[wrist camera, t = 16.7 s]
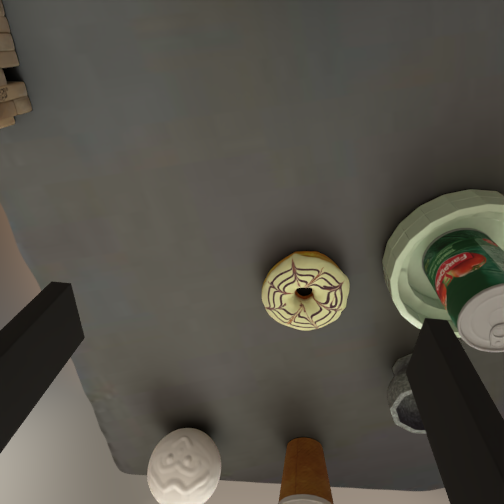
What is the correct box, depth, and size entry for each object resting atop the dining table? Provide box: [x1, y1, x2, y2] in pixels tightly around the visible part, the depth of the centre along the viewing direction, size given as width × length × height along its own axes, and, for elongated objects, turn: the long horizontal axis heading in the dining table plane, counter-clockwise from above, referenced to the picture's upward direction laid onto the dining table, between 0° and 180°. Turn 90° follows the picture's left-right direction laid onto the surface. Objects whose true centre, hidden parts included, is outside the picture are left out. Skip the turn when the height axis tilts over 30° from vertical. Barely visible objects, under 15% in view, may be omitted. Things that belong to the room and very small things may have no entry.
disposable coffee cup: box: [278, 437, 333, 504], centre depth 58 cm, size 10×10×12 cm
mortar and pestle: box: [387, 354, 426, 434], centre depth 47 cm, size 11×9×12 cm
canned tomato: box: [422, 228, 504, 352], centre depth 37 cm, size 8×8×11 cm
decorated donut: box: [262, 251, 350, 331], centre depth 45 cm, size 10×11×4 cm
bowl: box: [382, 189, 504, 338], centre depth 40 cm, size 17×17×5 cm
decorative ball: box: [147, 428, 221, 504], centre depth 60 cm, size 12×12×12 cm
